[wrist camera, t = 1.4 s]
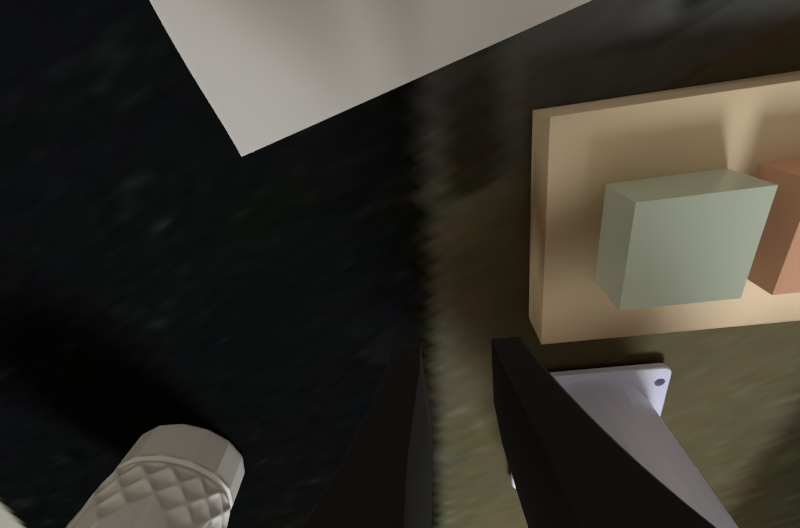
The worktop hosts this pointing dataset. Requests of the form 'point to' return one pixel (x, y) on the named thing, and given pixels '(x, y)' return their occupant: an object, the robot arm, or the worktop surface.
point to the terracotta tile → (780, 232)
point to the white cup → (168, 483)
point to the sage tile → (680, 237)
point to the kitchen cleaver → (327, 52)
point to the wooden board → (640, 159)
